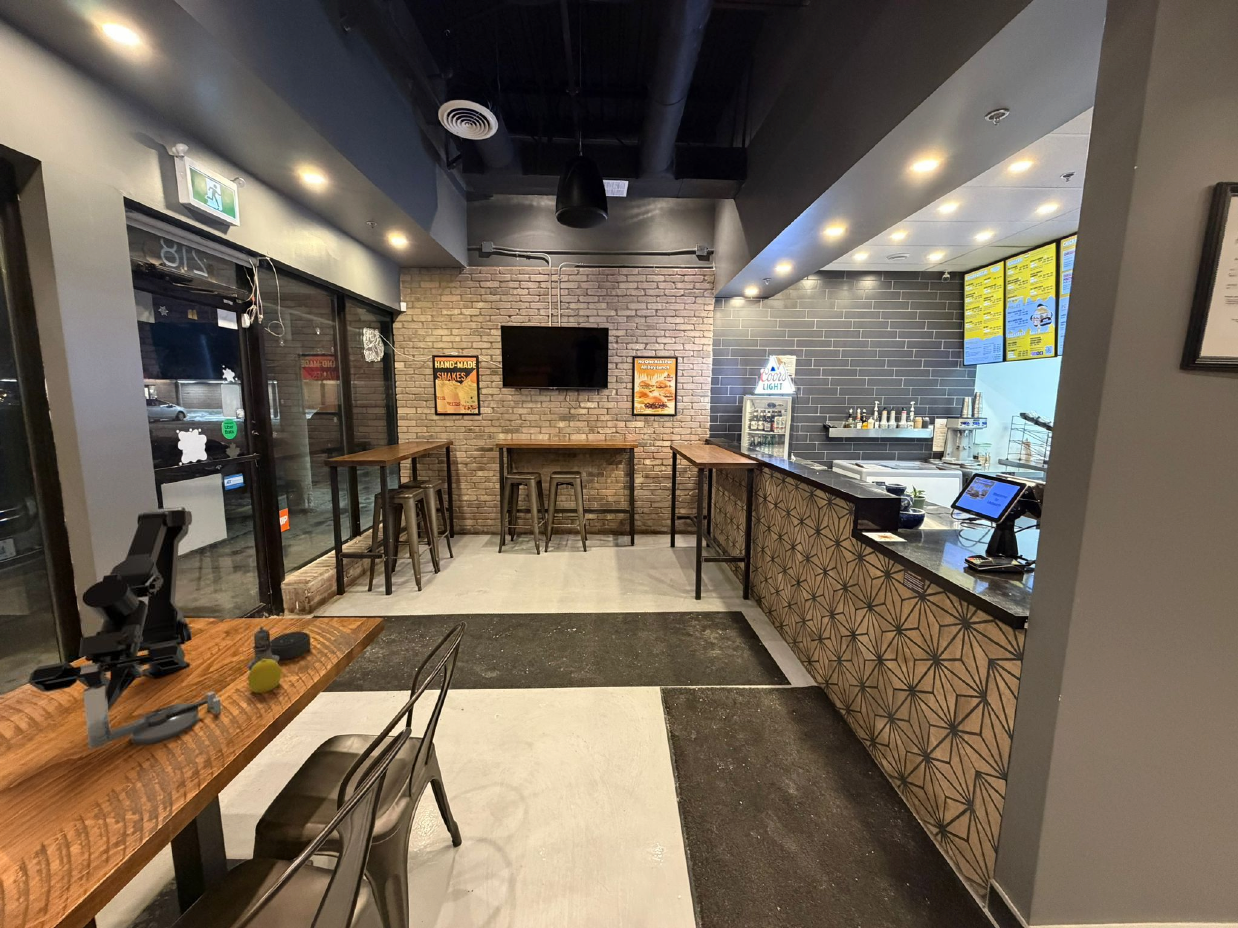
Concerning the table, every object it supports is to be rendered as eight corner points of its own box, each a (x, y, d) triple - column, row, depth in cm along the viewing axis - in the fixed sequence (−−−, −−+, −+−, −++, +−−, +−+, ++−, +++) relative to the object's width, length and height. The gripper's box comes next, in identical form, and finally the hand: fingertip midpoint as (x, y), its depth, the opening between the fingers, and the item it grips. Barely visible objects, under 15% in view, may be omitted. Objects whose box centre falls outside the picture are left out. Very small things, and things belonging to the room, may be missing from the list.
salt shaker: (262, 684, 102) (259, 633, 101) (241, 681, 103) (237, 630, 102) (286, 670, 108) (283, 622, 107) (266, 667, 109) (263, 619, 108)
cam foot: (86, 760, 77) (79, 693, 76) (127, 721, 87) (122, 662, 86) (183, 742, 81) (177, 679, 80) (212, 707, 91) (207, 650, 90)
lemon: (261, 687, 101) (259, 652, 100) (287, 686, 101) (285, 652, 101) (243, 702, 96) (240, 666, 95) (271, 701, 96) (268, 665, 95)
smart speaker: (261, 656, 115) (260, 640, 114) (300, 641, 122) (300, 627, 122) (277, 666, 110) (276, 650, 110) (317, 650, 117) (316, 635, 117)
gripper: (28, 623, 78) (-7, 720, 70) (175, 602, 87) (160, 685, 79) (57, 647, 85) (29, 737, 77) (190, 625, 95) (178, 703, 87)
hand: (101, 714), depth 80 cm, fingers closed
